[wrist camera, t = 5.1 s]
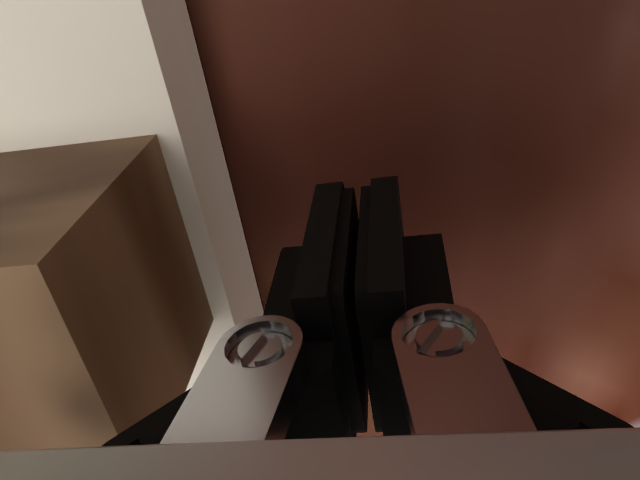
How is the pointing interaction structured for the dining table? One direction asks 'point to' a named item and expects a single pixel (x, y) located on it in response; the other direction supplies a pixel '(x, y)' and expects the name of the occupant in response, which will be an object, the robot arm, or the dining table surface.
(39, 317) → the walnut block
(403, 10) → the dining table surface
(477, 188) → the dining table surface
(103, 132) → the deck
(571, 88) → the dining table surface
